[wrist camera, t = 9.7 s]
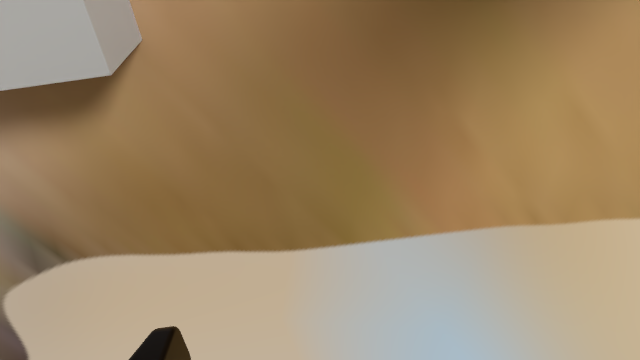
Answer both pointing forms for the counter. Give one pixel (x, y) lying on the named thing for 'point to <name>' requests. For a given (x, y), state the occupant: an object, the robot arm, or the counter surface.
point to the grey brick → (63, 40)
